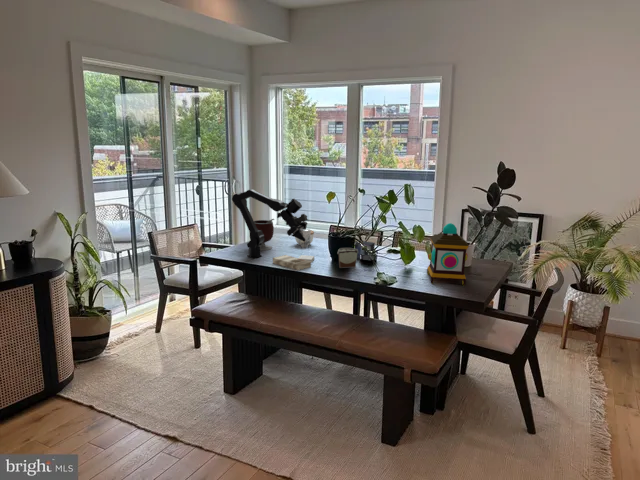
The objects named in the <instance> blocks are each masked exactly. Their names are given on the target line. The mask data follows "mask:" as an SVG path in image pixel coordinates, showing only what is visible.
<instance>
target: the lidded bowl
mask: <svg viewBox="0 0 640 480" xmlns="http://www.w3.org/2000/svg"><path fill="white" fill-rule="evenodd" d="M310 230H311V229H310ZM314 233H315V232H314V230H311V242H310V243H308V245H309V246H310V245H311V244H312V243H313V240H314V235H315V234H314ZM294 239H295V242H296V243H297V244H298V246H300V247H301V243H299V239H298V238H296V237H294Z"/></svg>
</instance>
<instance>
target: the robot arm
mask: <svg viewBox="0 0 640 480" xmlns="http://www.w3.org/2000/svg"><path fill="white" fill-rule="evenodd" d="M250 198H251V199H254V200H257V201H258V202H261V203H262V204H265V205H267V206H268V207H269V209H271V210H272V211H274V212H277V214H276V215H277V216H276V218H277V219H280V218H282V220H283V221H284V222H285V225H286V226H288V227H289V228H288V230H287V231H286V235H288V236H291V237H294V238H295V237H296V238H298V239H300V240H302V241H305V238H304V237H303V235H302V234H301V232H300V229H307V226H308V223H307V221H308V215H307V214H305V213H302V214H300V216H299V217H298V216H294V215H293V214H296V213H297V212H298V211H299V210H300V209H302V207H303V206H302V203H301V202H300V201H298V200H297V199H296V198H292V199H291V200H290V201H289V202H288V203H286V202H285V201H284V200H281V199H277V198H271V197H269V196H267V195H265V194H262V193H260V192H258V191H257V190H255V189H253V188H251V189H247V190H246V191H243V192H238V193H235V194H233V195H232V197H231V201H232V203H233V204H234V206H235V207H236V208H238V209H239V211H240V213H241V215H242V219H244V220H243V221H244V223H245V225H246V227H247V229H248V231H249V239H250V240H249V242H247V243H246V246H247V248H248V255H247V257H248V258H252V259H256V258H261V257H263V256H262V255H261V250H260V247H259V246H260V245H261V244H262V242H263V241H264V234H263V232H262V230H260V231H259V230H258V229H257V227H256V225H255V223H254V221H255V220H254V218H253V216H252V213H251V212H250V209H249V207H248V200H247V199H250Z"/></svg>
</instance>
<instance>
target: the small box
mask: <svg viewBox="0 0 640 480" xmlns="http://www.w3.org/2000/svg"><path fill="white" fill-rule="evenodd" d="M362 241H363V243H364V244H365V245H366V246H367V248H368V249H369V250H370V251H373V250H374V251H375V246H376V243H375V242H372V241H365V240H362ZM354 249H358V252H359V253H358V254H357V260H356V261H358V260H359V261H361V260H360V255H361V254H362V255H368V252H366V251H364V250H362V246H361V244H360V243H358V242H357V241H355V242H354Z"/></svg>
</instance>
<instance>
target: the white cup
mask: <svg viewBox="0 0 640 480" xmlns="http://www.w3.org/2000/svg"><path fill="white" fill-rule="evenodd" d="M300 232H301V234H302V235H303V237H304V238H305V241H302V240H300V239H299V243H301V246H300V247H301V249H308V247H309V246H308V243H310V242H311V229H309V228H308V229H307V228H306V229H300ZM311 243H312V242H311Z"/></svg>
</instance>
